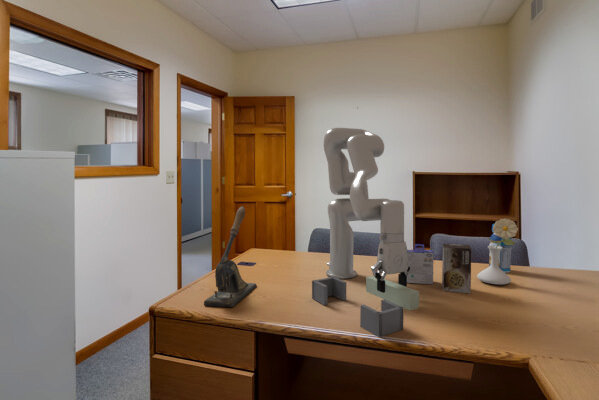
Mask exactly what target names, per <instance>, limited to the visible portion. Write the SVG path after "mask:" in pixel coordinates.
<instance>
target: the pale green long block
mask: <svg viewBox="0 0 599 400" xmlns="http://www.w3.org/2000/svg"><path fill="white" fill-rule="evenodd" d="M365 278H366V279H365V280H366V281H365V282H366V283H365V284H366V285H365V292H366V293H368V294H370V295H373V296H376V297H377V298H380V299H381V300H384V299H385V300H387V301H390V302H392V303H394V304H396V305H399V306H401V307H403V308H404V310H407V311H413V310H416V309H419V308H420V290H419V291H418V290H416V289H413V288H411V287H408V286H407V287H405V286H403V285H400V284H398V282H397V283H396V282H394V281H391V280H390V279H389V280H388V279H386V278H384V280H385V293H382V292H380V291H378V290H377V279H376V278H375V276H374V275H370V276H366V277H365Z"/></svg>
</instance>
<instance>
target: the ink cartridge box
mask: <svg viewBox="0 0 599 400" xmlns="http://www.w3.org/2000/svg"><path fill="white" fill-rule="evenodd" d="M413 245H414V249H407V253H408V259H409V260H410V261H412V263H411V266H410V270H409V272H408V275H407V284H423V285H433V284H434V256H435V255H434V251H433V250H431V249H425V244H424V243H423V244H422V243H421V244H420V243H414V244H413Z"/></svg>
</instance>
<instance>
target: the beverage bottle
mask: <svg viewBox="0 0 599 400" xmlns="http://www.w3.org/2000/svg"><path fill="white" fill-rule="evenodd" d="M494 224H495V223H493V224H492V226H491V231H492V234H491V235H490V237H489V239H491V240H493V241H496V242H497V243H498V244H499V243H500V242H501V240H502V239H503V237H499V236H496V235H495V234H496V233H494V230H493V227H494ZM509 239H510V240H512V237H511V238H510V237H509ZM503 240H504V239H503ZM489 241H490V240H489ZM497 243H495V242H492V241H490V242H489V244H488V246H497V245H498V244H497ZM498 246H499V247H502V249H501V251H500V252H499V255H498V266H499V268H500V269H501V270H502V271H503V272H505V273H506V274H508V273H510V272H511V270H512V269H511V262H512V261H511V260H512V250H513V246H512V245H505V244H504V243H503V241H502V242H501V243H500V244H499V245H498ZM488 252H489V253H488V254H489V256H488V257H489V259H488V267H489V266H490V264H491V253H490V251H488Z"/></svg>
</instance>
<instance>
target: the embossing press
mask: <svg viewBox="0 0 599 400" xmlns="http://www.w3.org/2000/svg"><path fill="white" fill-rule="evenodd" d="M245 216H246V208H245V207H244V206H243V205H242V206H240V207H239V208H238V209H237V211H236V214H235V216H234V217H235V218H234V221H233V223H232V226H231V228H230V234H229V235H230V237H229V240H228V241H227V242H228V243H227V244H226V247H225V248H226V249H225V251H224V253H223V254H222V257H221V259H220V261H219V262H218V264H217V265H216V268H215V271H214V274H215V276H214V277H215V287H216V288H217V290H214V293H213V294H211V296H209V297H208V298H206V299H205V300H204V302H203V305H204V306H212V307H224V308H225V307H230V308H232V307H234V306H236V305H237V304H238V303H239V302H240V301H241V300H242V299H244V298H245V297H246V296H247V295H249V294H250V293H251V292H252V291H253V290H254V289H255V288H256V287H257V283H255V282H246V281H245V280H244V279H243V277H242V276H241V274H240V270H239V267H238V265H237V263H236V262H235V261H233V260H232V259H228V258H229V255H230V251H231V248H232V245H233V242H234V240H235V238H236V237H237V235H238V233H239V232H240V228H241V225H242V223H243V221H244V218H245Z"/></svg>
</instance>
